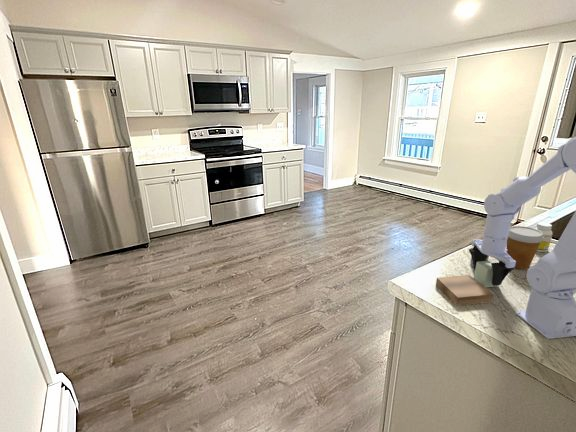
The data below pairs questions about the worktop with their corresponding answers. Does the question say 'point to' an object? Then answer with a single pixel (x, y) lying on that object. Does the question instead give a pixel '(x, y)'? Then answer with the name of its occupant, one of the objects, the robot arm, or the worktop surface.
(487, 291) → the walnut base
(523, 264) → the disposable coffee cup
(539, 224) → the supplement bottle
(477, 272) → the sage block
